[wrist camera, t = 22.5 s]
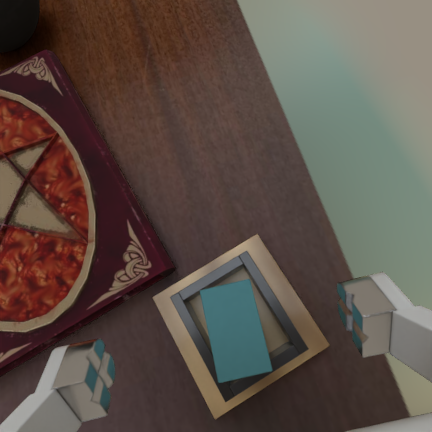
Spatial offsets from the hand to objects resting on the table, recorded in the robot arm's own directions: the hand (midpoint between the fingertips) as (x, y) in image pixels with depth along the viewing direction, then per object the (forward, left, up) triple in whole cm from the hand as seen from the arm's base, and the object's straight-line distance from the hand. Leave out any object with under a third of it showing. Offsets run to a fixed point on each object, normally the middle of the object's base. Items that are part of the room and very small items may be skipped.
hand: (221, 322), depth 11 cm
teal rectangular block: (0, +1, -17) cm, 17 cm away
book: (+13, -20, -19) cm, 31 cm away
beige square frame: (0, +1, -19) cm, 19 cm away
